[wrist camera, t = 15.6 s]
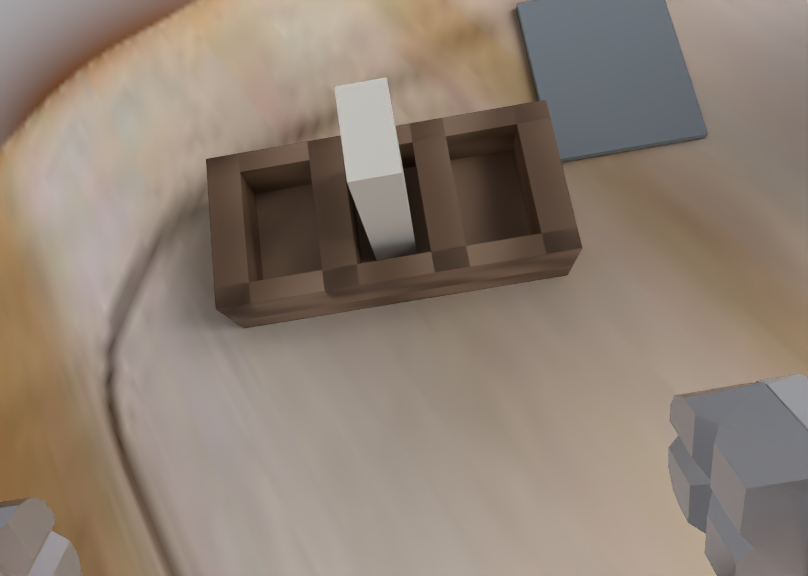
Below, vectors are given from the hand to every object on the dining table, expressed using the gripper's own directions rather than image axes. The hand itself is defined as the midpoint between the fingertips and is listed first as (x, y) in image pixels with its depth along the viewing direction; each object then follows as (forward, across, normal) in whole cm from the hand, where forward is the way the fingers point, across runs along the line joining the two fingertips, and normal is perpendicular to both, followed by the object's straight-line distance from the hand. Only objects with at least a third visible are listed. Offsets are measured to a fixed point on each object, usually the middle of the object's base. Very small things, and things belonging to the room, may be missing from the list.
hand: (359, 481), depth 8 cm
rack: (+25, 0, +7) cm, 26 cm away
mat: (+30, -13, +2) cm, 33 cm away
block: (+24, 0, +6) cm, 25 cm away
